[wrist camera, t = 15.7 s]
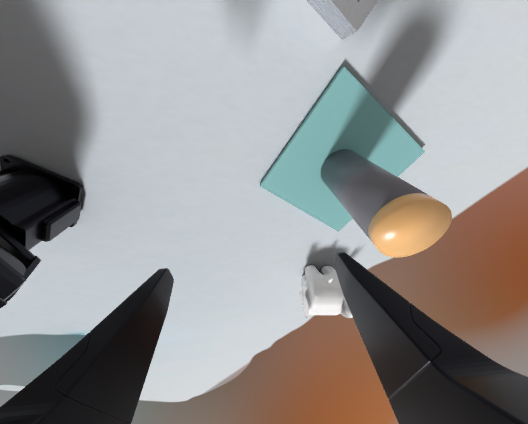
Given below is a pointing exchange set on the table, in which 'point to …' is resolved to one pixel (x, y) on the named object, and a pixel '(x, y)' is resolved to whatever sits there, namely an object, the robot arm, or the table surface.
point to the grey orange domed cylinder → (385, 204)
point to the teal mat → (338, 148)
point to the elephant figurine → (323, 293)
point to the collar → (343, 14)
